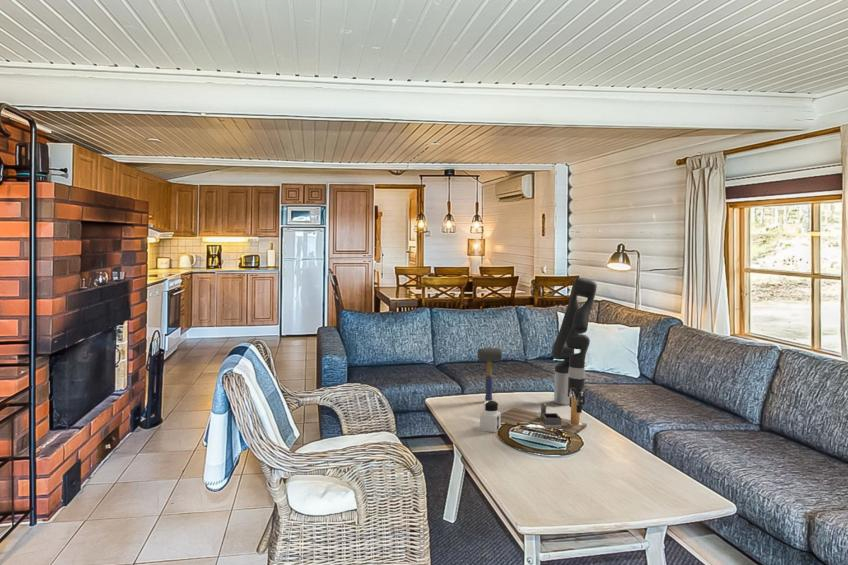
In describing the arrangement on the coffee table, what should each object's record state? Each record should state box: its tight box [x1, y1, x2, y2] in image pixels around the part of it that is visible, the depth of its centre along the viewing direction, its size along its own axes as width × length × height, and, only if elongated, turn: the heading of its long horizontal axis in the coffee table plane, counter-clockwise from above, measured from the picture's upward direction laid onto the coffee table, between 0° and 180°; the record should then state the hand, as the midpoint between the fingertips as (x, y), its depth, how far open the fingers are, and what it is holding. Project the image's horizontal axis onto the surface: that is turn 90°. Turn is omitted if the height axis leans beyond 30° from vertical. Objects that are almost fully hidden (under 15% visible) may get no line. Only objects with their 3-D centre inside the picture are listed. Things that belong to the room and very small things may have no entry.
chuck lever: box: [536, 402, 562, 429], centre depth 254 cm, size 19×8×7 cm, turn 3°
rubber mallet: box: [477, 347, 503, 401], centre depth 292 cm, size 12×8×30 cm, turn 97°
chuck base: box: [500, 407, 588, 436], centre depth 257 cm, size 24×39×2 cm, turn 52°
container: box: [479, 400, 502, 433], centre depth 250 cm, size 8×8×13 cm
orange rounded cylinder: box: [570, 396, 581, 425], centre depth 253 cm, size 4×4×13 cm
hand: (575, 409), depth 253 cm, fingers open, 8 cm apart
